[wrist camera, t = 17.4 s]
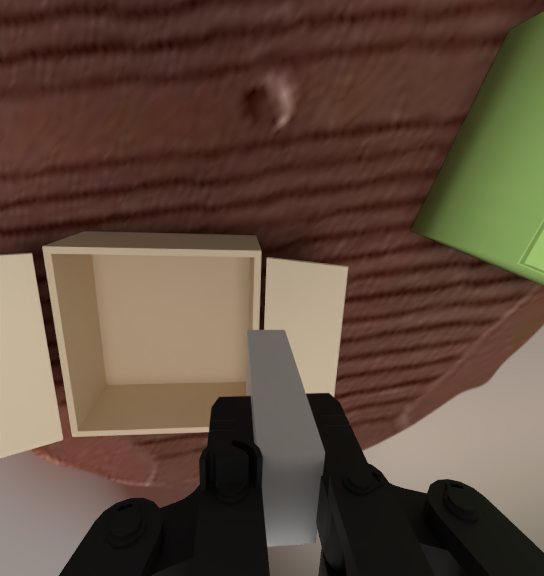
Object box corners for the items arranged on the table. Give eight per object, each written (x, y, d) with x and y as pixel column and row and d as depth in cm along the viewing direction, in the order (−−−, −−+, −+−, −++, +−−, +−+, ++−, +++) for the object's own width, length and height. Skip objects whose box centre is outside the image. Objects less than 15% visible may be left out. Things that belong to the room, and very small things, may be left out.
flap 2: (266, 257, 35) (347, 267, 32) (268, 256, 35) (348, 266, 33) (260, 432, 41) (327, 451, 39) (261, 429, 41) (328, 448, 39)
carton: (84, 230, 43) (42, 246, 33) (255, 235, 45) (261, 250, 36) (103, 388, 49) (72, 438, 40) (251, 384, 52) (255, 431, 42)
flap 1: (32, 252, 33) (-85, 259, 29) (31, 253, 32) (-87, 260, 28) (62, 437, 39) (-30, 463, 35) (63, 439, 39) (-30, 466, 35)
